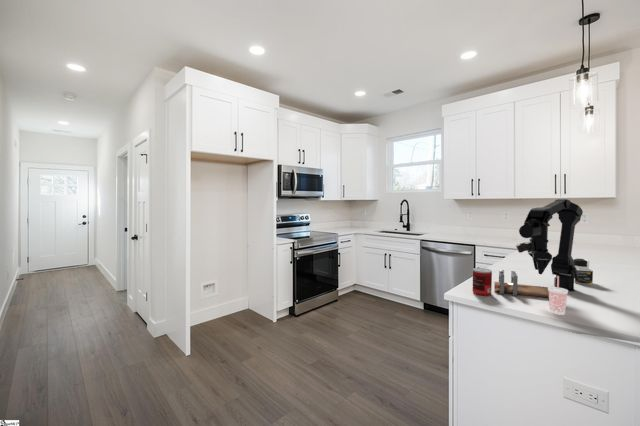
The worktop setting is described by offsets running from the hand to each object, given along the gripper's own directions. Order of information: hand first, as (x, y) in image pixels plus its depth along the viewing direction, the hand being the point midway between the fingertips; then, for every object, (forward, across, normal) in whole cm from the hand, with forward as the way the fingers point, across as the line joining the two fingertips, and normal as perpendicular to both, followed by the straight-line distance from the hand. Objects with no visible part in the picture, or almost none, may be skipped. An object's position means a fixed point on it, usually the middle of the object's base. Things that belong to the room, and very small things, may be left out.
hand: (538, 271), depth 131 cm
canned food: (+11, +7, -22) cm, 25 cm away
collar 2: (+11, 0, -9) cm, 14 cm away
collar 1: (+11, 0, -14) cm, 18 cm away
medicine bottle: (+11, -35, +23) cm, 43 cm away
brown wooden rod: (+11, 0, -6) cm, 12 cm away
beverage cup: (+11, +20, +3) cm, 23 cm away
